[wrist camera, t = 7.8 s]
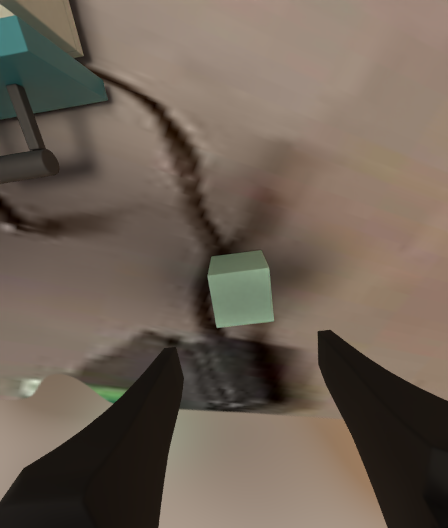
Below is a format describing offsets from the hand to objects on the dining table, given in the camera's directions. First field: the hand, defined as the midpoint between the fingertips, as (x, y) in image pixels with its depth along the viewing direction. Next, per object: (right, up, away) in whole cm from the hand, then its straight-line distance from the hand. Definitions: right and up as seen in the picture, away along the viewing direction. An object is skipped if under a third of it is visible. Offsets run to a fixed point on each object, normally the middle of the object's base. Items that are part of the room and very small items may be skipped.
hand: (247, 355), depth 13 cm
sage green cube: (0, +4, +10) cm, 10 cm away
